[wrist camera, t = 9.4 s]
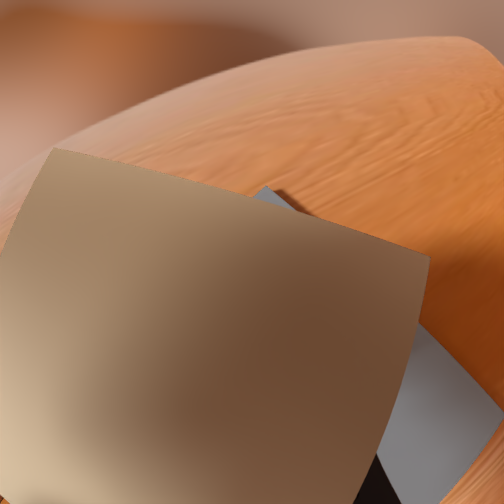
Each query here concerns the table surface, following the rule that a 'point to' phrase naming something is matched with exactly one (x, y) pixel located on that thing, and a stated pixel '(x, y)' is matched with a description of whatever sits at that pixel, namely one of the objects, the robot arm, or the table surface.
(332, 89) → the table surface
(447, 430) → the plate
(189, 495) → the birch pillar
